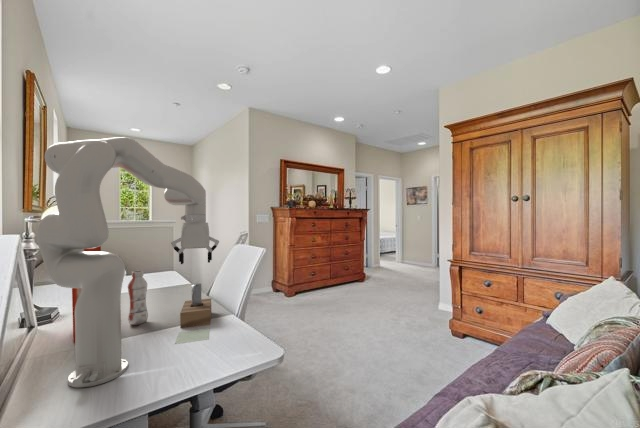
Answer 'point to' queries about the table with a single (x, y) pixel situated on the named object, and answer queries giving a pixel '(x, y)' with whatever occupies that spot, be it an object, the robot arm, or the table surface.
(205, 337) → the mat
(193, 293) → the peg
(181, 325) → the hole block
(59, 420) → the table surface
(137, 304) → the plastic bottle
